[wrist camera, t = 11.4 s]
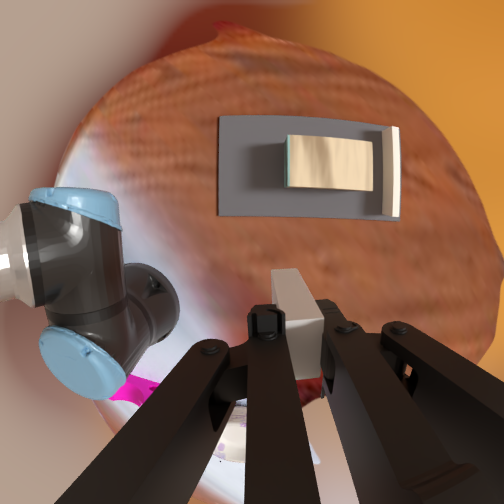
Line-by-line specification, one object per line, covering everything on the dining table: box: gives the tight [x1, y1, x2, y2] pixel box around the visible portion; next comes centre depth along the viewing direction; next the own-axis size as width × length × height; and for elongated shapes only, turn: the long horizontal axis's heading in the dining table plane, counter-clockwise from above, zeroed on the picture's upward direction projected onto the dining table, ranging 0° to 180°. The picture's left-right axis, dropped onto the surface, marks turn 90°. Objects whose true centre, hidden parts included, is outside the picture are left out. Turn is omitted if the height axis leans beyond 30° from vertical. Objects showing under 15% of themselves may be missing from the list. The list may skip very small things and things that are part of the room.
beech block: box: [284, 135, 373, 191], centre depth 37 cm, size 6×7×12 cm
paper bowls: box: [213, 406, 247, 463], centre depth 48 cm, size 15×15×8 cm
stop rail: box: [382, 126, 400, 217], centre depth 37 cm, size 1×14×4 cm, turn 179°
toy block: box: [108, 374, 160, 407], centre depth 48 cm, size 15×6×8 cm, turn 80°
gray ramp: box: [219, 115, 401, 221], centre depth 40 cm, size 30×16×1 cm, turn 90°
